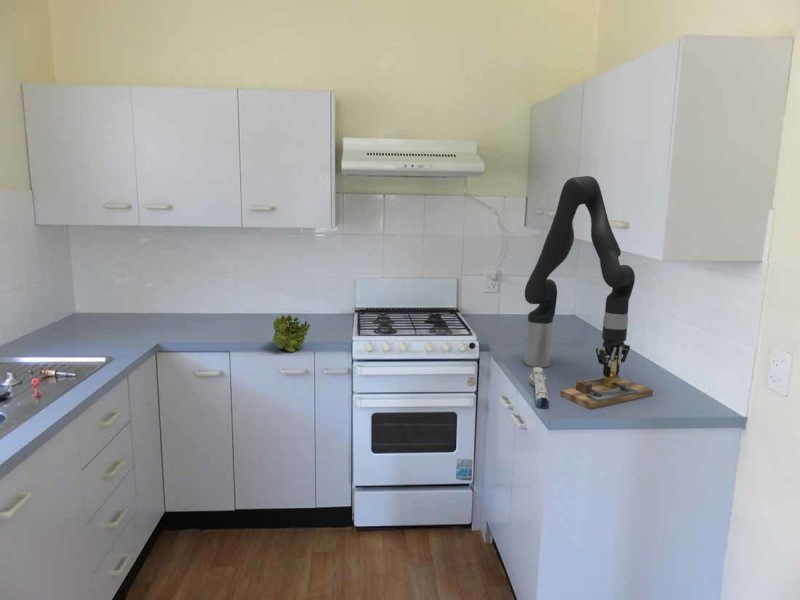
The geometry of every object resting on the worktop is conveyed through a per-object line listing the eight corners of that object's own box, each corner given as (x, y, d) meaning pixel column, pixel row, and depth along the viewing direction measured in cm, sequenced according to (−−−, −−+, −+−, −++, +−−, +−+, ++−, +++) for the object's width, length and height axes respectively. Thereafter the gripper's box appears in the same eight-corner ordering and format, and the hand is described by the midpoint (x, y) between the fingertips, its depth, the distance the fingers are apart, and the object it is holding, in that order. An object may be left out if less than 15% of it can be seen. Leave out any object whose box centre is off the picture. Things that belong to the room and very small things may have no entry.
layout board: (560, 395, 186) (561, 384, 185) (621, 383, 199) (622, 372, 198) (590, 409, 175) (591, 397, 174) (652, 395, 187) (653, 384, 187)
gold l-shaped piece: (601, 384, 191) (604, 358, 190) (608, 382, 193) (610, 357, 191) (620, 391, 184) (623, 365, 183) (627, 390, 186) (630, 363, 184)
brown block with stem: (575, 389, 186) (576, 381, 185) (582, 388, 187) (583, 379, 187) (593, 397, 179) (594, 388, 178) (600, 396, 180) (601, 387, 180)
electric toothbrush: (534, 396, 175) (530, 362, 198) (533, 415, 177) (528, 379, 200) (552, 397, 174) (545, 363, 197) (550, 416, 176) (544, 380, 200)
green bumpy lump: (261, 334, 240) (287, 307, 245) (288, 359, 242) (314, 332, 247) (263, 330, 223) (291, 301, 228) (292, 357, 225) (319, 328, 230)
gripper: (621, 321, 193) (617, 369, 196) (590, 325, 186) (586, 375, 190) (639, 326, 186) (634, 376, 190) (608, 330, 180) (603, 382, 183)
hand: (610, 375), depth 190 cm, fingers closed on gold l-shaped piece, 3 cm apart
